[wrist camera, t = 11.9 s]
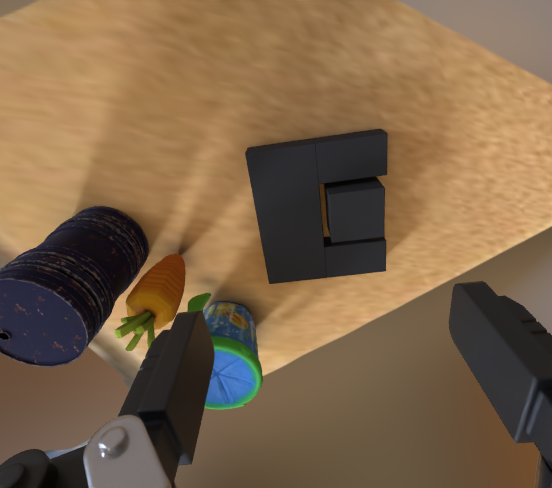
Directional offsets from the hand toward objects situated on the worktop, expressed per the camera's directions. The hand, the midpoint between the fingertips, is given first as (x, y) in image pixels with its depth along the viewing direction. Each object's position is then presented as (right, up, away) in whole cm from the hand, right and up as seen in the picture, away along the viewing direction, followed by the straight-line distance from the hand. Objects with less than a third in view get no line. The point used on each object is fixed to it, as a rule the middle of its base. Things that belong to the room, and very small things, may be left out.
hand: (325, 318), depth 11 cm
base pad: (+3, +6, +28) cm, 29 cm away
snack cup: (-8, -8, +36) cm, 38 cm away
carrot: (-14, +1, +32) cm, 34 cm away
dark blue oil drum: (-22, +3, +31) cm, 38 cm away
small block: (+7, +7, +28) cm, 29 cm away
